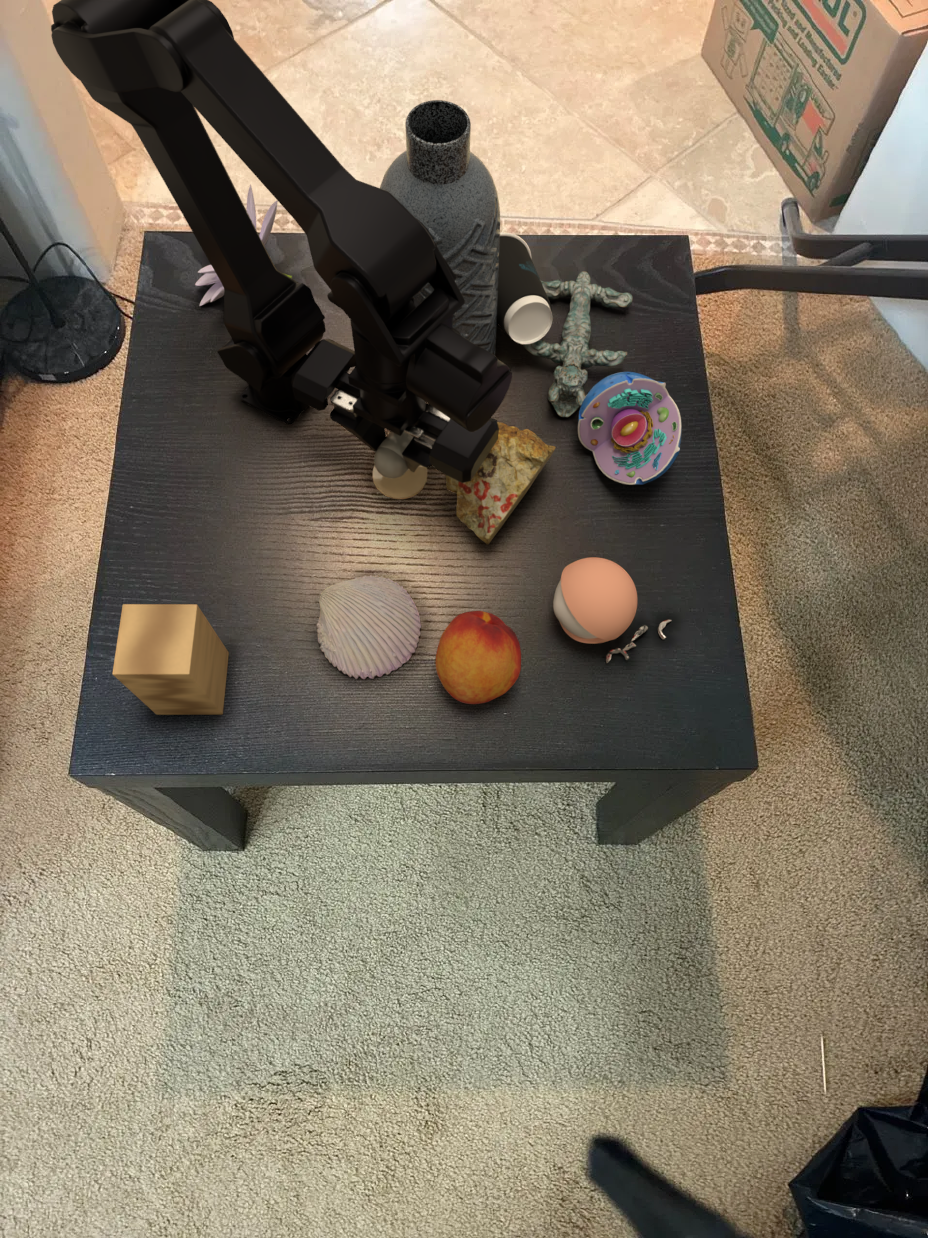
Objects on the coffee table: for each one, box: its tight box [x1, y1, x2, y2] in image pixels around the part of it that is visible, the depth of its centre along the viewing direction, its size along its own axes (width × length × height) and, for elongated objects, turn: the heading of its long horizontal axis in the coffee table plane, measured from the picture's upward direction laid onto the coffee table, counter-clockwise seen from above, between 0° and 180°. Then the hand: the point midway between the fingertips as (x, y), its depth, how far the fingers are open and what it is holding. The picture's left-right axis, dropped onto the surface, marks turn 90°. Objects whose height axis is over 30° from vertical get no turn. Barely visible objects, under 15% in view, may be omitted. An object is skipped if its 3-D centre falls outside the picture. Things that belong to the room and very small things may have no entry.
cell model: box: [577, 371, 683, 486], centre depth 86 cm, size 10×12×10 cm
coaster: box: [371, 465, 428, 500], centre depth 89 cm, size 6×6×1 cm
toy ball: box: [552, 556, 638, 645], centre depth 80 cm, size 8×8×8 cm
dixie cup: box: [497, 231, 554, 345], centre depth 91 cm, size 8×8×11 cm
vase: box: [379, 99, 501, 356], centre depth 81 cm, size 12×12×28 cm
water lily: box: [194, 184, 293, 307], centre depth 95 cm, size 15×15×9 cm
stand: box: [112, 603, 230, 716], centre depth 75 cm, size 6×6×12 cm
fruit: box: [434, 610, 522, 705], centre depth 77 cm, size 8×8×8 cm
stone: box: [373, 431, 413, 479], centre depth 85 cm, size 6×4×4 cm, turn 151°
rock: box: [444, 421, 557, 546], centre depth 86 cm, size 12×9×10 cm
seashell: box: [316, 574, 422, 680], centre depth 81 cm, size 10×6×10 cm
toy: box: [605, 619, 672, 664], centre depth 82 cm, size 1×8×2 cm
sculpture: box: [522, 270, 633, 418], centre depth 94 cm, size 11×20×5 cm, turn 171°
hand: (398, 459), depth 86 cm, fingers closed on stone, 3 cm apart
